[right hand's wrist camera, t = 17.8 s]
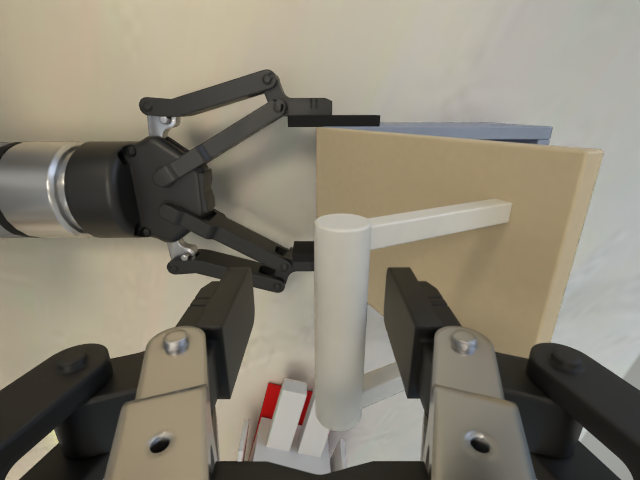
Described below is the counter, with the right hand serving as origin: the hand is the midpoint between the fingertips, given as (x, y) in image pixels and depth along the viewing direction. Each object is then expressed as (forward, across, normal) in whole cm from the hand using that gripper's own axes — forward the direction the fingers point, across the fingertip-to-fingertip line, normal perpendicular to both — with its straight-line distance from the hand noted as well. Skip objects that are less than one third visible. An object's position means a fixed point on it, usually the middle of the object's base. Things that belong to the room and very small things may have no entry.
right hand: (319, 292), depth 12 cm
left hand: (+17, +4, 0) cm, 17 cm away
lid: (+7, +4, 0) cm, 8 cm away
